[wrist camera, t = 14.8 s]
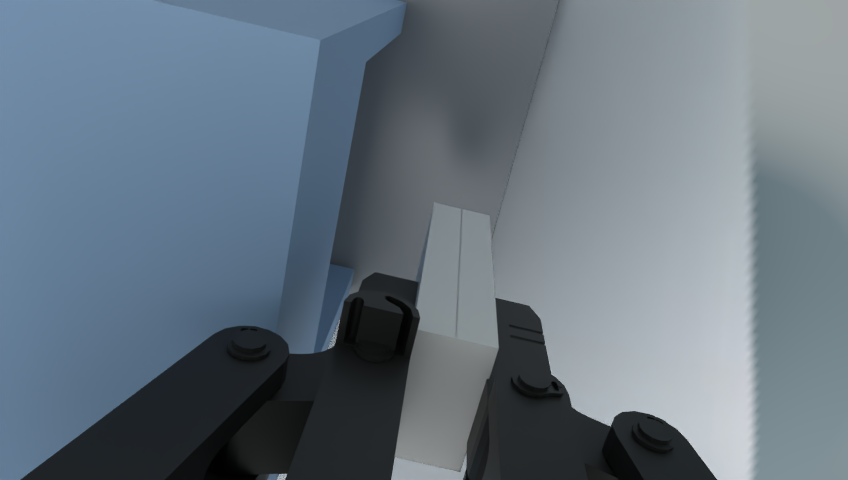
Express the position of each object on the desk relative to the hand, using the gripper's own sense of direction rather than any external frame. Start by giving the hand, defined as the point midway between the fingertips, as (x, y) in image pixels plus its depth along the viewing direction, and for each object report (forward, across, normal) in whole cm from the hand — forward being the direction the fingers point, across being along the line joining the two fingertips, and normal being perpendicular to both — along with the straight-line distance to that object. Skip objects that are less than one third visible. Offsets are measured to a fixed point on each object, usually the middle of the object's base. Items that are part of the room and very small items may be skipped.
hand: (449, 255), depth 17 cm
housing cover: (+7, -8, 0) cm, 10 cm away
